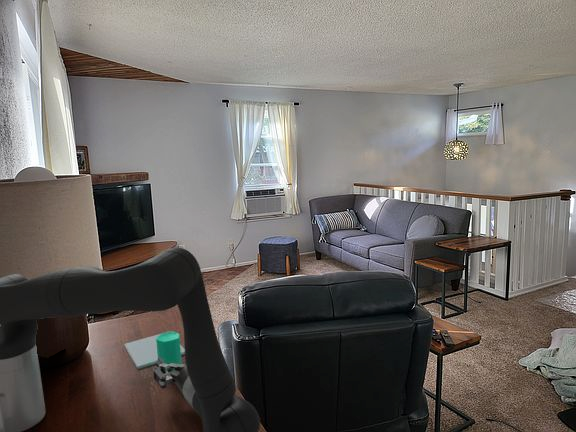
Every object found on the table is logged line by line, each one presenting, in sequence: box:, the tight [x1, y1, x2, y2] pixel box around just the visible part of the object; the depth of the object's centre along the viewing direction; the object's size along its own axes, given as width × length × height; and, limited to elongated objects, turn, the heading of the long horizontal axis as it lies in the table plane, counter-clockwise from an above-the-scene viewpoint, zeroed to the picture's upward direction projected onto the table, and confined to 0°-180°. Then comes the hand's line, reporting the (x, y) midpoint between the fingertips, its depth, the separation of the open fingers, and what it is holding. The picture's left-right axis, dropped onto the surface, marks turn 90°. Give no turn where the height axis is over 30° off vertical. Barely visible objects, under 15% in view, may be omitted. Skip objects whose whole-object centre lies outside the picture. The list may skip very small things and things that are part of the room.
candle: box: [156, 330, 183, 371], centre depth 103 cm, size 6×6×12 cm
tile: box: [124, 333, 185, 370], centre depth 116 cm, size 16×14×1 cm
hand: (175, 355), depth 99 cm, fingers open, 8 cm apart
